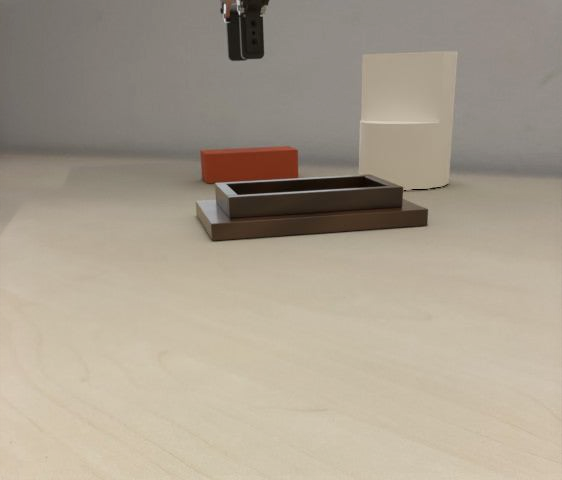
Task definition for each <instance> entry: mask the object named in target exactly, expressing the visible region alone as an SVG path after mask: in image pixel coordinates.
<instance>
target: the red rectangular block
mask: <svg viewBox="0 0 562 480" xmlns="http://www.w3.org/2000/svg"><path fill="white" fill-rule="evenodd" d="M199 153H200V167H201V178H202V180H203V181H204V182H205V183H206V184H207V185H208V184H215V183H224V182H242V181H259V180H277V179H294V178H299V149H298V148H297V149H296V148H294V147H292V146H290V145H282V146H281V145H280V146H278V145H277V146H262V147H261V146H259V147H258V146H257V147H238V148H237V147H235V148H218V149H200V151H199Z"/></svg>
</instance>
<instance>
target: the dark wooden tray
mask: <svg viewBox="0 0 562 480" xmlns="http://www.w3.org/2000/svg"><path fill="white" fill-rule="evenodd" d="M214 191H215V194H214V195H215V199H202V200H200V199H199V200H196V201H195V210H196V216H197V218H198V219H199V221H200V223H201V224H202V227H203V228H204V229H205V231H206V232H207V234H208V236H209V238H210V239H211V241H212V242H213V241H214V242H215V241H216V242H217V241H228V240H241V239H242V240H244V239H257V238H269V237H270V238H271V237H272V238H273V237H284V236H285V237H286V236H297V235H311V234H312V235H313V234H314V235H315V234H327V233H339V232H341V233H342V232H353V231H354V232H355V231H368V230H369V231H370V230H383V229H394V228H395V229H396V228H398V229H399V228H410V227H411V228H413V227H422V226H423V227H424V226H428V222H429V221H428V220H429V209H428V208H426V207H424V206H421V205H419V204H417V203H414V202H412V201H409V200H407V199H405V198H404V190H403V187H402V186H399V185H396V184H394V183H391V182H389V181H386V180H383V179H381V178H378V177H376V176H373V175H370V174H366V175H359V174H352V175H351V174H349V175H333V176H316V177H315V176H314V177H298V178H295V179H277V180H259V181H242V182H224V183H214Z"/></svg>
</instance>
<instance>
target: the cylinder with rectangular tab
mask: <svg viewBox="0 0 562 480" xmlns="http://www.w3.org/2000/svg"><path fill="white" fill-rule="evenodd" d="M458 54H459V51H458V50H439V51H414V52H413V51H412V52H391V53H390V52H389V53H365V54H364V53H363V54H361V55H362V56H361V100H360V101H361V103H360V104H361V105H360V107H361V108H360V120H359V139H358V141H359V142H358V143H359V145H358V146H359V148H358V175H366V174H370V175H373V176H376V177H378V178H381V179H383V180H386V181H389V182H391V183H394V184H396V185H399V186H402V187H403V191H404V190H406V189H422V188H432V187H438V186H443V185H446V184H447V183H449V184H450V173H451V158H452V144H453V129H454V113H455V97H456V85H457V82H456V81H457V70H458V69H457V68H458V56H459V55H458ZM406 191H407V190H406Z"/></svg>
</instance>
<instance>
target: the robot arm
mask: <svg viewBox="0 0 562 480" xmlns="http://www.w3.org/2000/svg"><path fill="white" fill-rule="evenodd" d="M269 2H270V0H220V8H219V13H220V16H221V18H222V19H223V22H224V23H225V29H226V31H225V32H226V47H227V48H226V49H227V58H228V60H229V61H231V62H244V61H247V60H260V59H261V60H262V59H263V58H264V56H265V39H264V38H265V37H264V36H265V35H264V15H265V14H266V11H267V6H269ZM261 15H262V16H261Z"/></svg>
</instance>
